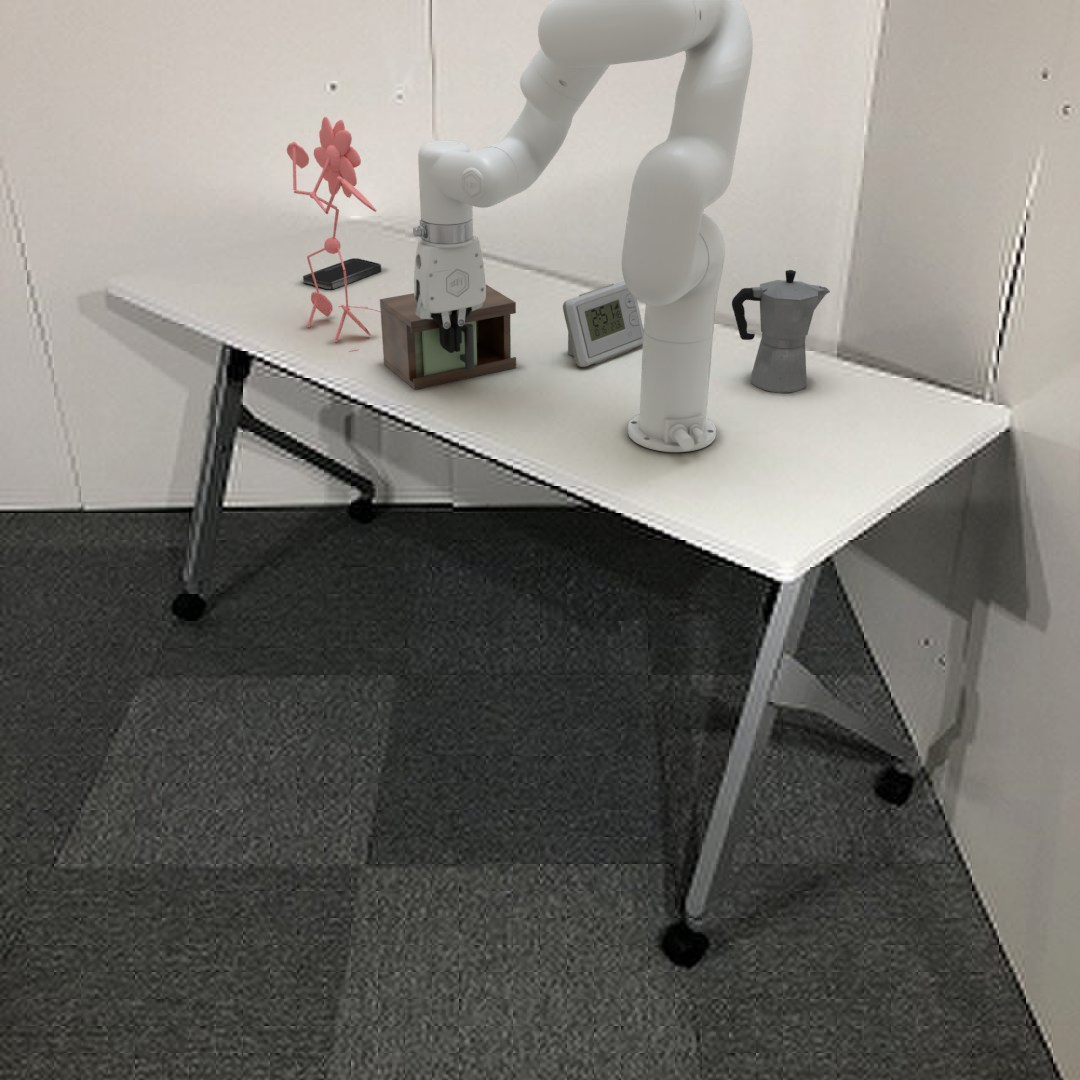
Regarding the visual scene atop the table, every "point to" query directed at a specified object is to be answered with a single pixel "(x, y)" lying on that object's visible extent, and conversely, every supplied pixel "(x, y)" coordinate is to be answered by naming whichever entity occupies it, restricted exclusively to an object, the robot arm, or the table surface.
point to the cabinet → (407, 327)
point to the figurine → (339, 173)
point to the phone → (342, 273)
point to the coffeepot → (780, 330)
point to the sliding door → (444, 361)
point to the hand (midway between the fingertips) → (451, 349)
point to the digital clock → (602, 324)
